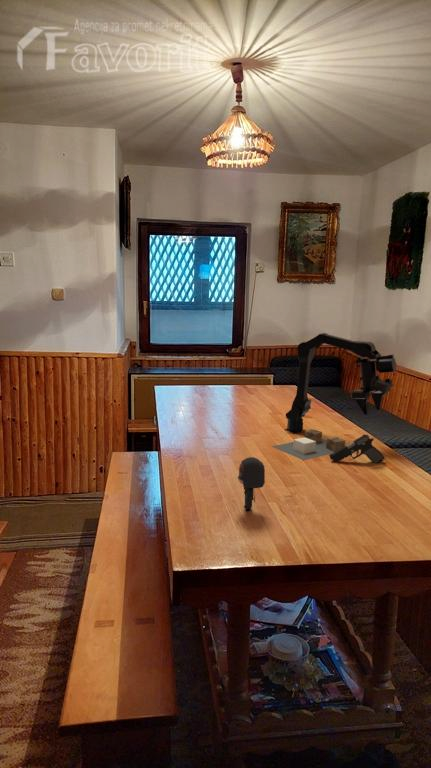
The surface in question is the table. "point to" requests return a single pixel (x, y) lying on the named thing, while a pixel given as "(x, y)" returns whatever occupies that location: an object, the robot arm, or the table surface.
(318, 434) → the pip block one
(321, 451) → the mat
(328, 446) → the pip block two
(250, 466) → the toy
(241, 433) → the table surface
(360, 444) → the handgun
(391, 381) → the robot arm
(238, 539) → the table surface
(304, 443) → the plain block
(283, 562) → the table surface
